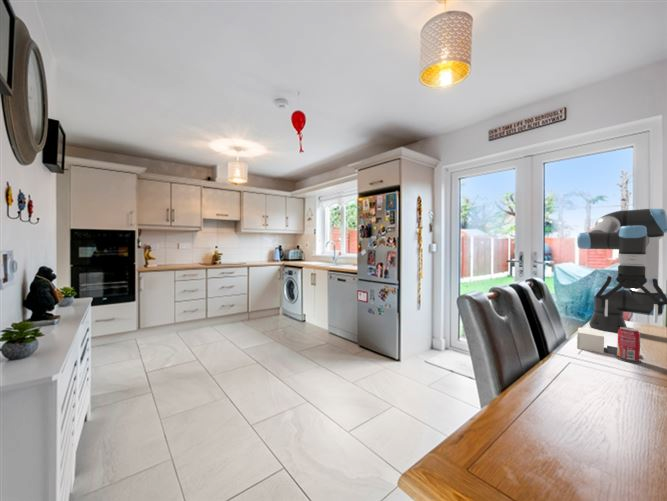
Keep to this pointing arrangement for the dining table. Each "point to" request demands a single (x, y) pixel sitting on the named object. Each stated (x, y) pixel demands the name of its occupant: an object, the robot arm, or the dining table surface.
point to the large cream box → (590, 340)
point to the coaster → (629, 360)
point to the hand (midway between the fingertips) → (629, 318)
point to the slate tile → (612, 349)
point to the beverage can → (628, 344)
